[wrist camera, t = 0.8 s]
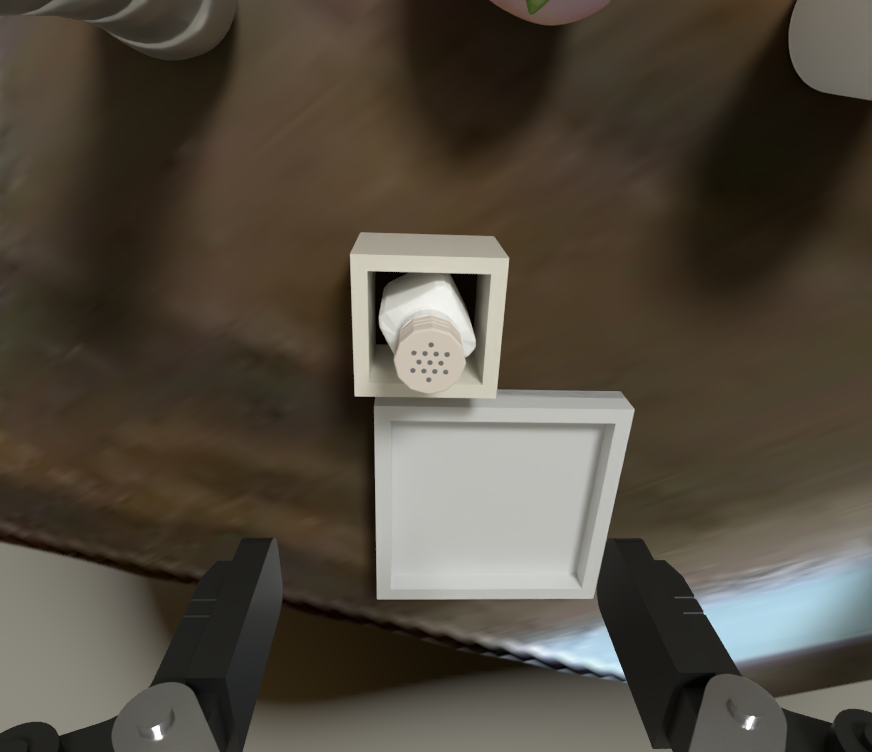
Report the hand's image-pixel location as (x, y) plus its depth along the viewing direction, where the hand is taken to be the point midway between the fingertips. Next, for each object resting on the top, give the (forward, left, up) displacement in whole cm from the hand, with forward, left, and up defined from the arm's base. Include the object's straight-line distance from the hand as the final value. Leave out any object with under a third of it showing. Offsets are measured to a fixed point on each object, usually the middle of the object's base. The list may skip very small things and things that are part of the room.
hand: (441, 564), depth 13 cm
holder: (0, 0, -21) cm, 21 cm away
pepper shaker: (0, 0, -22) cm, 22 cm away
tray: (-5, +14, -21) cm, 26 cm away
